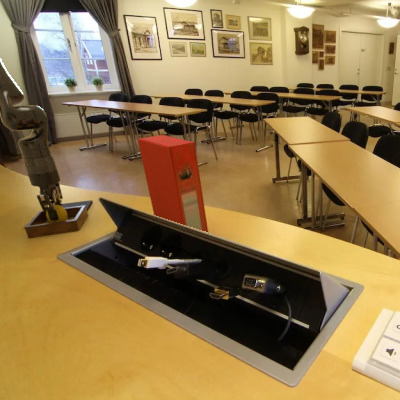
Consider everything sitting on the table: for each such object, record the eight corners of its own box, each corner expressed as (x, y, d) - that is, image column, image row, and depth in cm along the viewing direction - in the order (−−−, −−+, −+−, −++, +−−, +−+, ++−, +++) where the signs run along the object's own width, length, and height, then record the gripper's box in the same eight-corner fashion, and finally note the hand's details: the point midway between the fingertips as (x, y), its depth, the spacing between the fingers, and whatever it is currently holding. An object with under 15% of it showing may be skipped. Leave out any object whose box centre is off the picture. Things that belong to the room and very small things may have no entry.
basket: (27, 238, 103) (23, 227, 102) (42, 220, 115) (39, 211, 114) (79, 230, 108) (76, 220, 107) (88, 214, 120) (85, 205, 119)
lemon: (46, 228, 110) (38, 206, 107) (61, 221, 115) (55, 200, 112) (59, 230, 109) (51, 208, 106) (74, 223, 114) (67, 202, 111)
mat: (49, 216, 118) (48, 214, 118) (57, 206, 127) (56, 204, 126) (87, 211, 123) (86, 209, 122) (92, 202, 131) (92, 200, 131)
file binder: (186, 251, 96) (168, 146, 84) (157, 234, 106) (137, 138, 94) (209, 241, 102) (195, 141, 90) (180, 226, 112) (163, 134, 100)
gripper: (35, 165, 109) (50, 210, 115) (18, 177, 97) (36, 227, 103) (62, 162, 112) (75, 207, 118) (49, 174, 99) (64, 223, 106)
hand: (57, 216), depth 110 cm, fingers closed on lemon, 5 cm apart
